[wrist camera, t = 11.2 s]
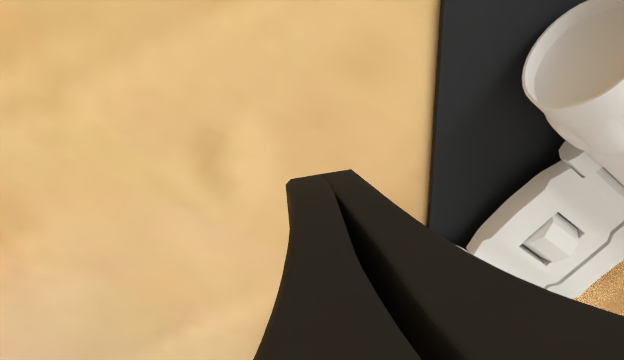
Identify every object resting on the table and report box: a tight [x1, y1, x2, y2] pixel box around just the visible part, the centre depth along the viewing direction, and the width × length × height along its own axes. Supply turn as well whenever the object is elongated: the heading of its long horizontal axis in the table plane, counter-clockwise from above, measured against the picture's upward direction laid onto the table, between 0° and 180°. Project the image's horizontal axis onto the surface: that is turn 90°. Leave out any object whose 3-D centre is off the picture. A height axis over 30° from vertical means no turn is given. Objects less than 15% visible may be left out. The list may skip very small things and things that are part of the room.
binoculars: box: [456, 0, 624, 299], centre depth 26 cm, size 17×5×18 cm
